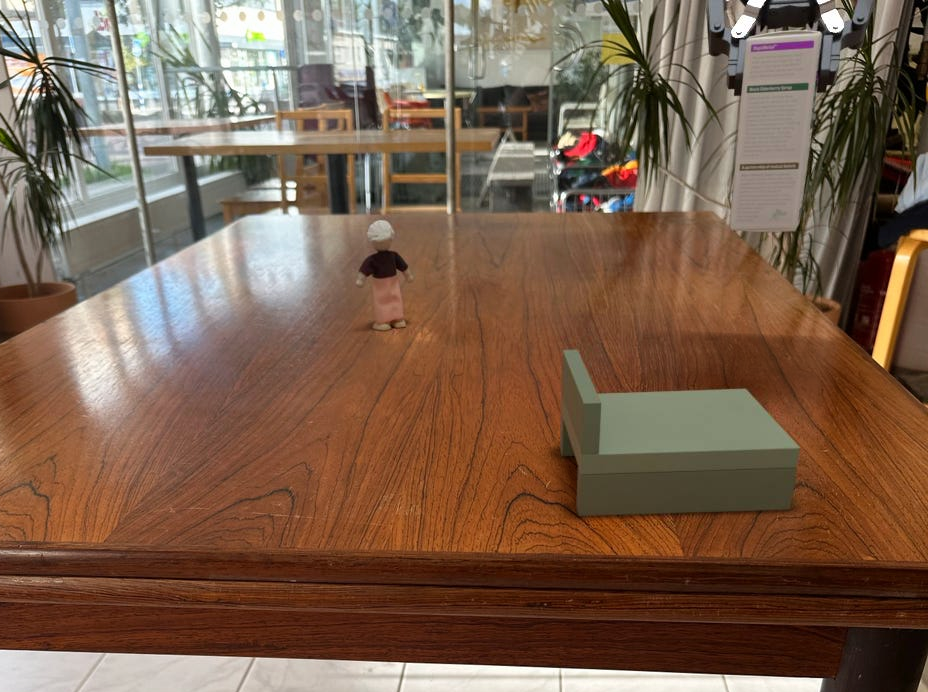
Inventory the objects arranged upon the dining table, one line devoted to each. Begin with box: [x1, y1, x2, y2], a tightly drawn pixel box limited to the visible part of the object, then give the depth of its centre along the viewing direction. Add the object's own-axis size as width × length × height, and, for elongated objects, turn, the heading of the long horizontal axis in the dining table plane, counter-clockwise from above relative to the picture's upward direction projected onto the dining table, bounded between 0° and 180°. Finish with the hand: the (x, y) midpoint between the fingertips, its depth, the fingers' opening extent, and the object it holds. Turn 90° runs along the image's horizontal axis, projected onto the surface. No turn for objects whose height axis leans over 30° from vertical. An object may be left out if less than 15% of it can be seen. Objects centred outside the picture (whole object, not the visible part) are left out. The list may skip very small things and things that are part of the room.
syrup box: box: [729, 29, 823, 233], centre depth 79 cm, size 6×6×14 cm
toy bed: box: [559, 349, 801, 517], centre depth 71 cm, size 15×14×9 cm
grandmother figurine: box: [355, 219, 415, 331], centre depth 117 cm, size 8×4×13 cm, turn 130°
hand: (780, 85), depth 76 cm, fingers closed on syrup box, 6 cm apart
